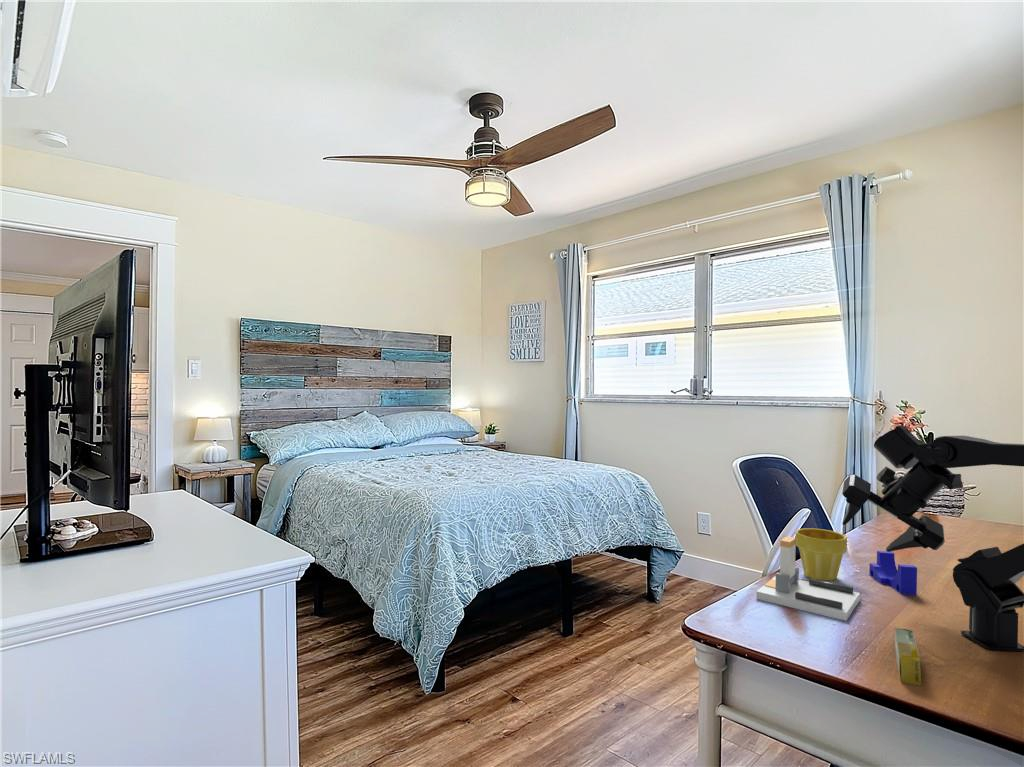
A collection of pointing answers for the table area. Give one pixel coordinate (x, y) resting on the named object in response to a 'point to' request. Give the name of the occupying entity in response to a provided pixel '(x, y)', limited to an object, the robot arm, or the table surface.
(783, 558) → the lever
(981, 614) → the robot arm
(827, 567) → the plant pot
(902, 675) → the medication box
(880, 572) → the cable clip
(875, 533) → the table surface
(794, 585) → the white base plate
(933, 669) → the table surface
